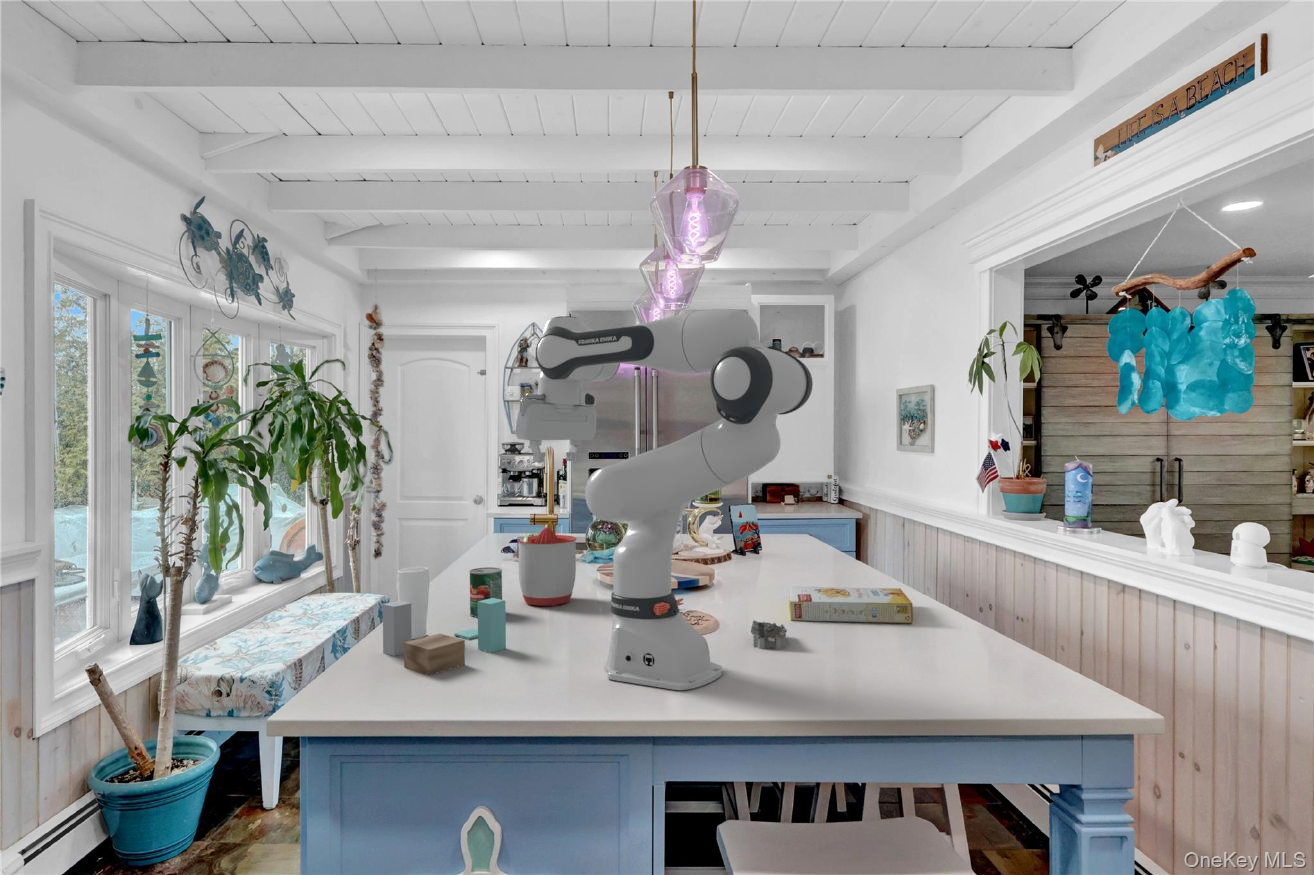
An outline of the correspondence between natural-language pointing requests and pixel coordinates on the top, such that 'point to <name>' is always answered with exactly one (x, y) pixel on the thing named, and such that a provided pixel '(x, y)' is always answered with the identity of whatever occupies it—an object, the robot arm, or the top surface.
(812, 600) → the cereal box
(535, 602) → the citrus juicer
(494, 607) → the teal block
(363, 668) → the top surface
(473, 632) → the tile
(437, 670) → the base block
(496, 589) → the canned tomato
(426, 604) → the drinking glass
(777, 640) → the egg carton
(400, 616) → the grey block
